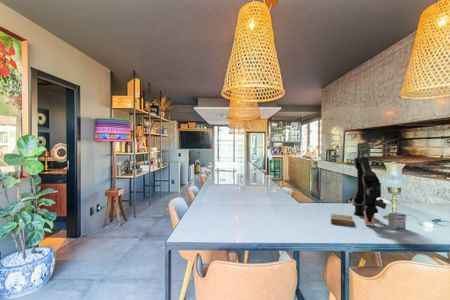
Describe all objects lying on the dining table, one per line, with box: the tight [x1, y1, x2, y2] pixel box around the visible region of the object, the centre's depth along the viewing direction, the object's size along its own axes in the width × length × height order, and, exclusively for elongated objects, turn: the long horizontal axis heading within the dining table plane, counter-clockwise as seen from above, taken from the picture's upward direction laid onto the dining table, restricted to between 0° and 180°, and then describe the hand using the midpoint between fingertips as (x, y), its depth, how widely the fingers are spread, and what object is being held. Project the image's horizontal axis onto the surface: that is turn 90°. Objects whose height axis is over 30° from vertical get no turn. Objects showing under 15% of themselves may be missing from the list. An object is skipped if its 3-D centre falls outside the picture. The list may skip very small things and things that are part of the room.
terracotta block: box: [364, 212, 375, 226], centre depth 146 cm, size 4×4×7 cm
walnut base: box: [330, 213, 354, 227], centre depth 152 cm, size 12×12×3 cm
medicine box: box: [387, 212, 407, 231], centre depth 141 cm, size 8×4×9 cm, turn 105°
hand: (369, 221), depth 146 cm, fingers closed on terracotta block, 4 cm apart
